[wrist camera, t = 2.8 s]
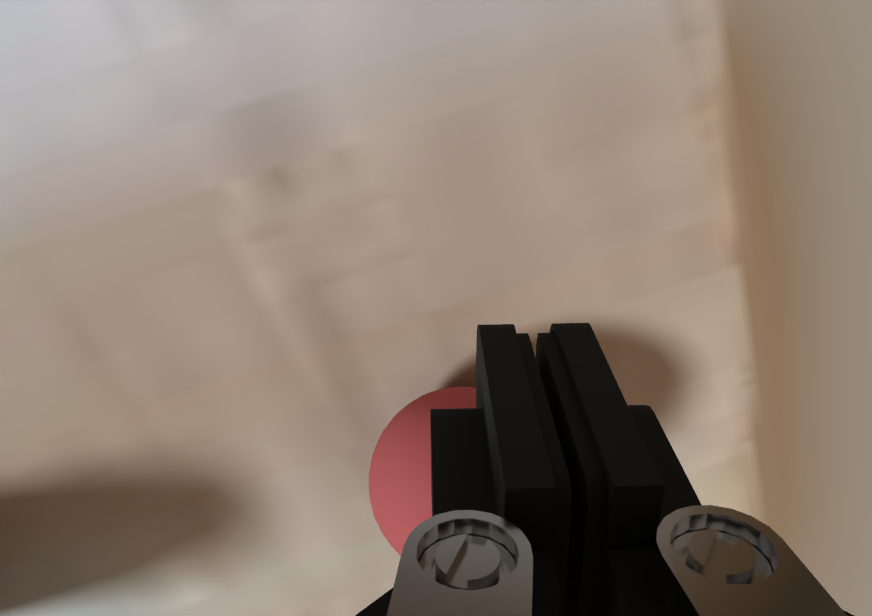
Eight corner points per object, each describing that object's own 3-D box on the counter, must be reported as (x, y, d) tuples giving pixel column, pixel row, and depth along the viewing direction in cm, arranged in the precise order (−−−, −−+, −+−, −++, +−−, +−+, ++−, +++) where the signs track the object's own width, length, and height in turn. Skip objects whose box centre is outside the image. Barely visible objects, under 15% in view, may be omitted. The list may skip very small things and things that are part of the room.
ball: (369, 354, 26) (358, 463, 21) (546, 351, 26) (582, 457, 21) (376, 497, 29) (368, 627, 23) (538, 493, 29) (567, 621, 24)
